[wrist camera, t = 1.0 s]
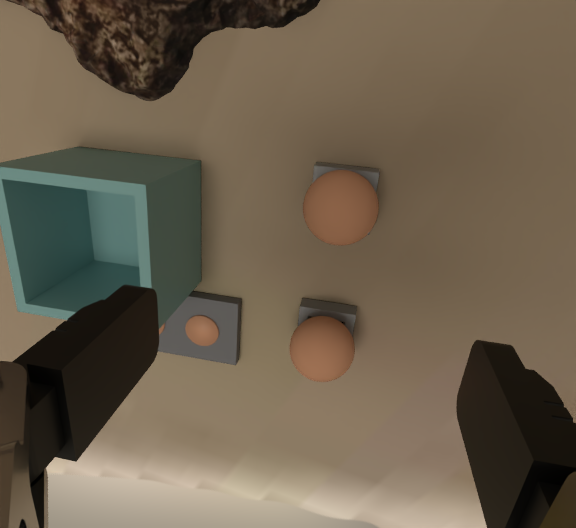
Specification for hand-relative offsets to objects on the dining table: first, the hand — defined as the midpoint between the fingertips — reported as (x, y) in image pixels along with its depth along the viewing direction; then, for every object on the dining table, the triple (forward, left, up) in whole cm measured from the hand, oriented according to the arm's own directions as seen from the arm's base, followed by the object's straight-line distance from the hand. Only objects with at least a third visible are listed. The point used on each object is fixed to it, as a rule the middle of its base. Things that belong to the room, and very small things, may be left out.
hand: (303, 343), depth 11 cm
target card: (+10, +10, -16) cm, 22 cm away
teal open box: (+13, +3, -16) cm, 21 cm away
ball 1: (0, 0, -13) cm, 13 cm away
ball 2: (0, +9, -13) cm, 16 cm away
